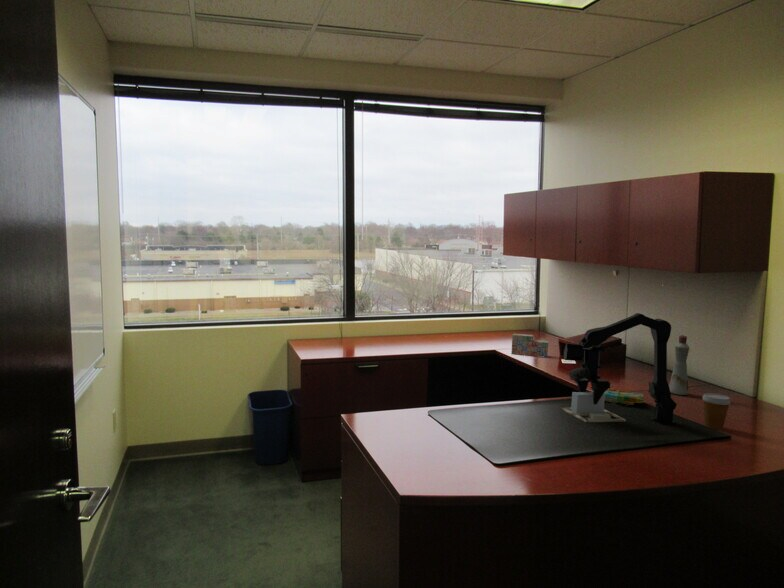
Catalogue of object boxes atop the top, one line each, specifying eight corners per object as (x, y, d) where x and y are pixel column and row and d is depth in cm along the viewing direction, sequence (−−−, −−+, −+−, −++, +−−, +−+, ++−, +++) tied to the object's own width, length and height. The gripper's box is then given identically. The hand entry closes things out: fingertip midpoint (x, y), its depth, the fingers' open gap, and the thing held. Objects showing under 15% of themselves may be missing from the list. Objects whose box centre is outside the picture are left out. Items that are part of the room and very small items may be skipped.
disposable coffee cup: (713, 431, 217) (716, 399, 216) (693, 423, 226) (696, 393, 225) (733, 430, 219) (737, 399, 218) (713, 422, 228) (716, 392, 227)
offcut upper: (610, 419, 220) (610, 415, 220) (592, 419, 219) (592, 415, 219) (606, 417, 223) (606, 413, 223) (589, 417, 223) (589, 413, 222)
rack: (625, 424, 220) (626, 419, 219) (585, 425, 215) (585, 420, 215) (599, 411, 236) (599, 406, 236) (561, 412, 232) (561, 407, 232)
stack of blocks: (547, 356, 357) (548, 336, 356) (547, 358, 351) (548, 337, 350) (511, 352, 362) (513, 333, 361) (511, 354, 356) (512, 334, 355)
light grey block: (603, 416, 229) (605, 394, 228) (576, 417, 226) (577, 394, 225) (597, 413, 233) (599, 391, 232) (570, 414, 230) (572, 392, 229)
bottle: (662, 391, 277) (668, 333, 275) (677, 390, 280) (682, 333, 278) (677, 396, 269) (683, 336, 267) (692, 395, 272) (698, 336, 270)
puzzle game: (595, 385, 263) (643, 392, 255) (595, 395, 264) (642, 402, 256) (593, 390, 253) (643, 397, 245) (592, 401, 253) (642, 408, 245)
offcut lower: (614, 425, 220) (614, 420, 220) (589, 425, 219) (590, 420, 218) (608, 422, 224) (609, 417, 224) (584, 422, 222) (585, 416, 222)
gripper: (560, 357, 235) (557, 395, 236) (586, 367, 217) (583, 408, 218) (585, 357, 238) (582, 394, 239) (612, 367, 219) (609, 407, 221)
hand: (588, 401), depth 229 cm, fingers open, 9 cm apart
